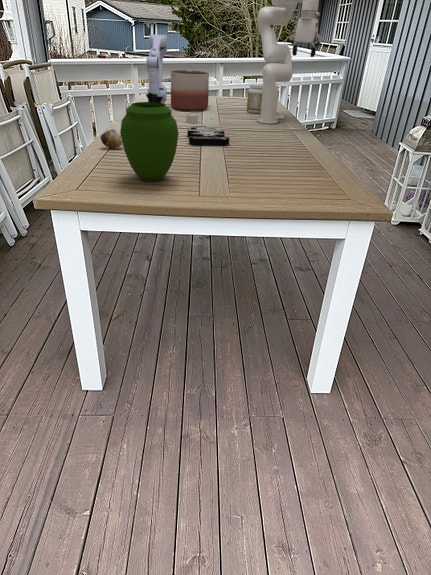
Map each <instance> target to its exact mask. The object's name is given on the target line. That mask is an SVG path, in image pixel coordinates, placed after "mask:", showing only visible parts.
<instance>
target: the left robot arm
mask: <svg viewBox="0 0 431 575" xmlns="http://www.w3.org/2000/svg"><path fill="white" fill-rule="evenodd" d="M148 44H149V53H148V56H147V57H146V69H147V75H148V76H147V79H148V88H147V93H145V96H146V98H147V100H148V101H147V102H156V103H162V104H165V105H166V103H165V102H167V99H168V98H167V97H168V94H167V87H166V86H165V84H163V65H164V57H165V56H164V55H166V54H167V53H168V35H167V34H152V33H150V34H149V36H148Z"/></svg>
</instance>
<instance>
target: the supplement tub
mask: <svg viewBox="0 0 431 575" xmlns="http://www.w3.org/2000/svg"><path fill="white" fill-rule="evenodd" d="M262 91H263V83H250V84H249V88H248V90H247V102H246V111H247V112H248V113H250V114H251V113H252V114H260V113H261V102H262Z"/></svg>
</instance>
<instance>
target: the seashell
mask: <svg viewBox="0 0 431 575" xmlns="http://www.w3.org/2000/svg"><path fill="white" fill-rule="evenodd" d="M100 140H101V143H102V144H103V145H104V146H105V147H107V148H110V149H116V148H119V147H120V146H122V145H123V142H122V138H121V134H119V133H118V132H117V131H116V129H114V128H112V129H109V130H106V131H104V132H103V133H102V134H101V135H100Z"/></svg>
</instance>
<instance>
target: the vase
mask: <svg viewBox="0 0 431 575" xmlns="http://www.w3.org/2000/svg"><path fill="white" fill-rule="evenodd" d="M125 113H126V114H125V115H124V117H122V119H121V122H120V123H121V124H120V130H119V133H120V134H119V135H120V136H121V138H122V142H123V143H122V147H123V150H124V154H125V155H126V158H127V160H128V163H129V165H130V167H131V168H132V170H133V172H134V173H135V175H136V176H137V177H138V178H139V179H141V180H143V181H145V182H159V181H161V180H163V179H164V178H165V176H166V175H167V174H168V173H169V170H170V169H171V167H172V165H173V162H174V159H175V157H176V156H175V155H176V153H177V147H178V140H179V129H178V122H177V120H176V119H175V117H174V116H173V115H172V109H171V108H170V107H169V106H167V105H166V103H165V104H162V103H156V102H149V101H138V102H132V103H131V104H130V105H128V107H127V108H125Z"/></svg>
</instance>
